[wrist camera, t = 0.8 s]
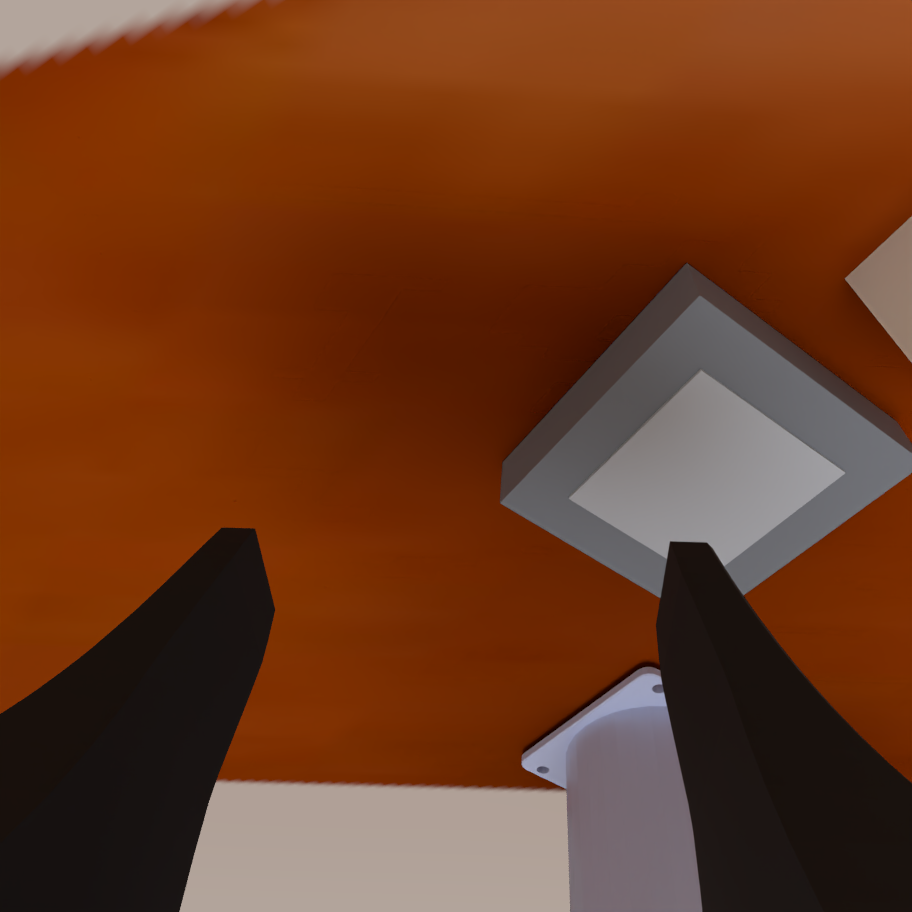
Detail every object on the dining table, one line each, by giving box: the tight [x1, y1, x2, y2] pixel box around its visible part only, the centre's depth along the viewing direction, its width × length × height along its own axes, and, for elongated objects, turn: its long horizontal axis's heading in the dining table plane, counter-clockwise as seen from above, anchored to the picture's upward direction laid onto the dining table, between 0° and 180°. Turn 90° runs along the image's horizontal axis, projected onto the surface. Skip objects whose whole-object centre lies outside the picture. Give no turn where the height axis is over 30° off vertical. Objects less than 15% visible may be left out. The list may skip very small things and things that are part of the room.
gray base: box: [500, 263, 912, 598], centre depth 22 cm, size 8×8×2 cm
